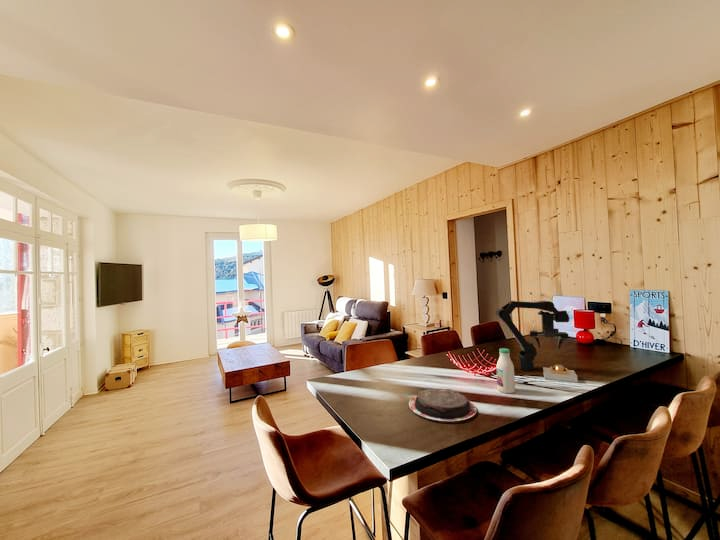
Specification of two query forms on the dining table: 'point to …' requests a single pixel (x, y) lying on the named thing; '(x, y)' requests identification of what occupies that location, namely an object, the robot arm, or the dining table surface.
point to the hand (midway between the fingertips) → (549, 349)
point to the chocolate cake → (442, 406)
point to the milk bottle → (505, 372)
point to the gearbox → (560, 375)
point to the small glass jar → (559, 367)
